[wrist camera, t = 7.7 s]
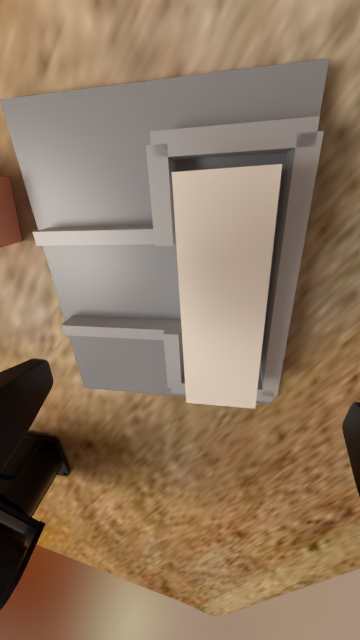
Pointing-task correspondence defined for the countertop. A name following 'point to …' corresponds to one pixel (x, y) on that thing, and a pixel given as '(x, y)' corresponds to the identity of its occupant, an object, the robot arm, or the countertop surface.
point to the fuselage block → (224, 277)
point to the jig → (159, 205)
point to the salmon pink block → (8, 215)
